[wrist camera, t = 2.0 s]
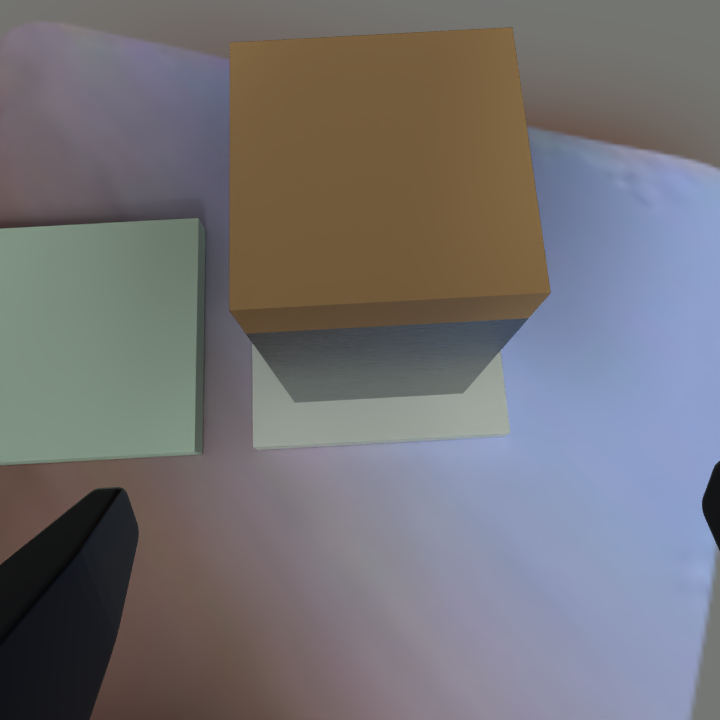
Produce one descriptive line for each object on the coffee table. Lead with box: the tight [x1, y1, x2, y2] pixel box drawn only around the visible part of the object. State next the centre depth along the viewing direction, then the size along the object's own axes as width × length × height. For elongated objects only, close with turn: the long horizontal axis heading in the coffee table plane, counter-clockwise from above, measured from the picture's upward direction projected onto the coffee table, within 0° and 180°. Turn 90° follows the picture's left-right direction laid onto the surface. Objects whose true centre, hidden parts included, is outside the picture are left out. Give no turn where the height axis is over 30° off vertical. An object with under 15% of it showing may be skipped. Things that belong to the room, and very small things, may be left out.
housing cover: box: [229, 27, 551, 334], centre depth 13 cm, size 6×6×3 cm
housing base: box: [246, 318, 528, 403], centre depth 17 cm, size 6×6×8 cm
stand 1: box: [0, 218, 206, 465], centre depth 22 cm, size 9×9×1 cm
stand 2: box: [252, 343, 510, 450], centre depth 22 cm, size 9×9×1 cm
